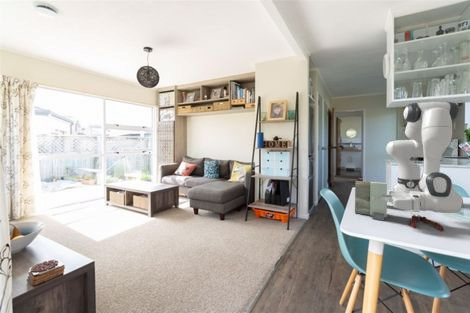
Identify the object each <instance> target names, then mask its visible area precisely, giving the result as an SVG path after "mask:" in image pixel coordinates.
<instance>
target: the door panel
mask: <svg viewBox="0 0 470 313" xmlns="http://www.w3.org/2000/svg"><path fill="white" fill-rule="evenodd" d="M369 182H370V215H369V216H371V217H372V213H379V214H384V218H388V215H387V214H388V213H387V212H388V211H387V210H388V202H387V201H381V200H380V196H383V197H387V195H388V183H387V182H383V183H378V181H369Z"/></svg>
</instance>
